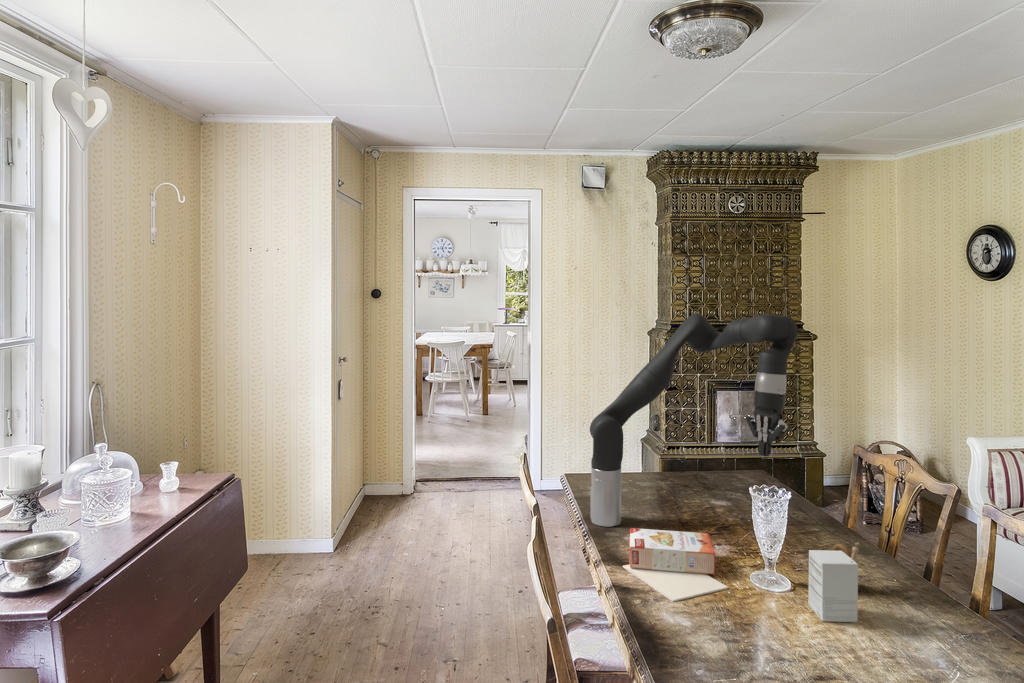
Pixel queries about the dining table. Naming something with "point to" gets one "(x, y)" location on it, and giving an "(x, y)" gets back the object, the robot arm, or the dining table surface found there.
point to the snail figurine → (847, 550)
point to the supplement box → (833, 586)
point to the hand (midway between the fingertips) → (764, 455)
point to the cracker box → (671, 551)
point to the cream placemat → (677, 582)
